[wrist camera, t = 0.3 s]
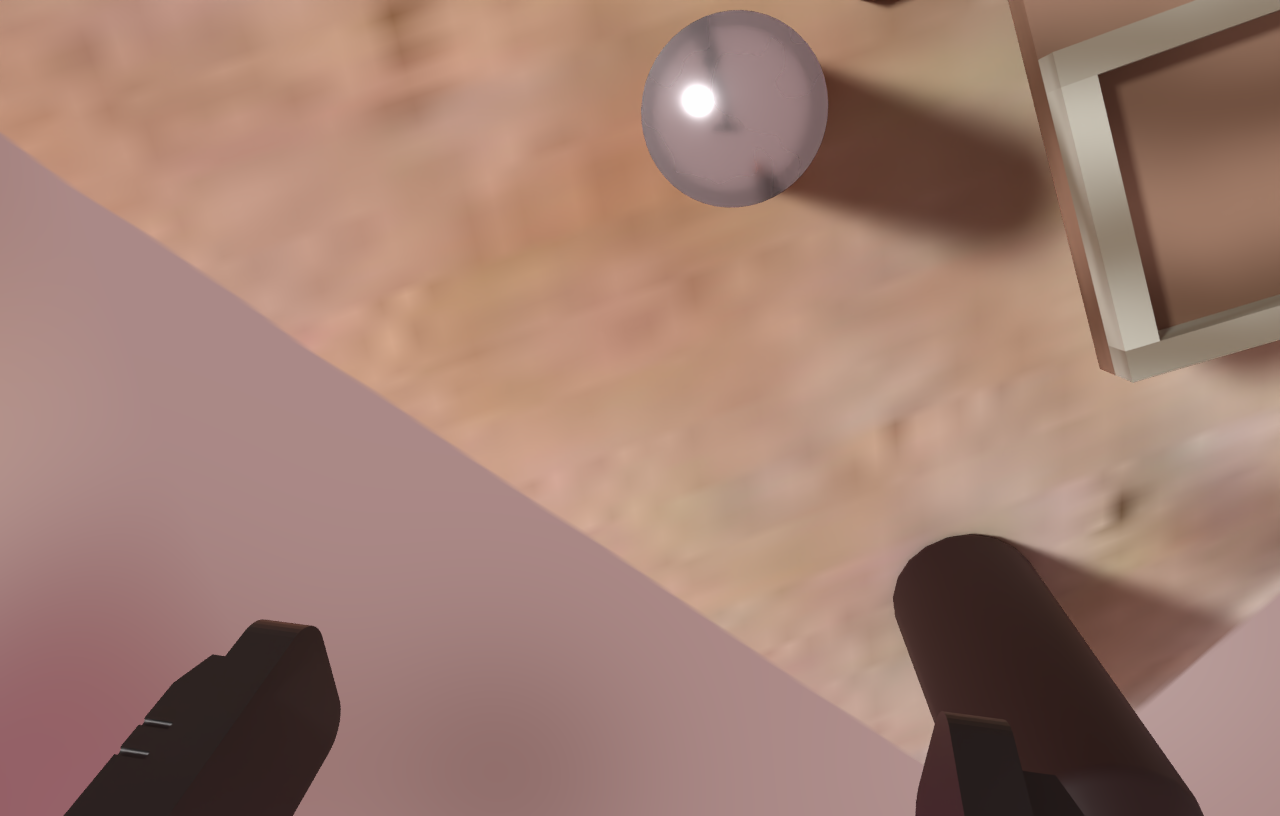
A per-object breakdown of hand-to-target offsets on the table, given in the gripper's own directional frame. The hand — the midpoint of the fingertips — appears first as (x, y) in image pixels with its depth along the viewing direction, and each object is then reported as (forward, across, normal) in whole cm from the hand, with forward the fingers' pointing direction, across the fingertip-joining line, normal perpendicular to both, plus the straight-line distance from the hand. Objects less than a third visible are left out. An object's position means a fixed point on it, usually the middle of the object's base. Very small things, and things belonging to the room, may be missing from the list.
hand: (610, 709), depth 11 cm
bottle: (+26, -12, +20) cm, 34 cm away
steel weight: (+28, +1, -2) cm, 28 cm away
